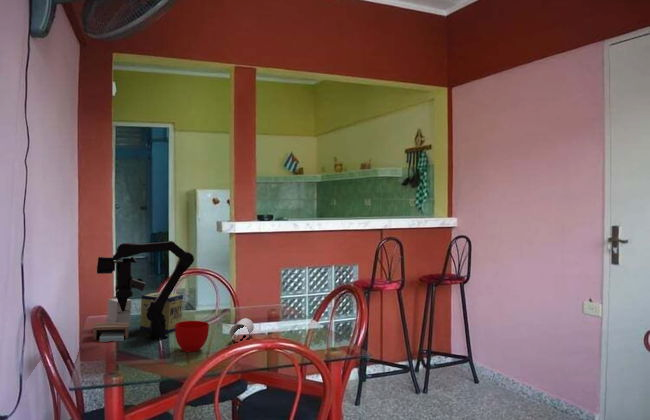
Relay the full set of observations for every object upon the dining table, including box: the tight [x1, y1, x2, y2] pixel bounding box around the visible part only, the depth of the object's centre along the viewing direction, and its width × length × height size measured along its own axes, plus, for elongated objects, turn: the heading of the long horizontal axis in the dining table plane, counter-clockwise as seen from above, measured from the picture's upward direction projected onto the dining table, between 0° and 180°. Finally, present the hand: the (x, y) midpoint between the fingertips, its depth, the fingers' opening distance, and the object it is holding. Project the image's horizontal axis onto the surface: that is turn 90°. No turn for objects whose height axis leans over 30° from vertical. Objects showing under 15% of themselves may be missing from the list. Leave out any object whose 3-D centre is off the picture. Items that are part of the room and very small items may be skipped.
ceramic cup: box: [174, 320, 210, 353], centre depth 206 cm, size 13×17×10 cm
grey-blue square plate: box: [99, 331, 125, 343], centre depth 217 cm, size 10×9×2 cm
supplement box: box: [106, 298, 132, 328], centre depth 236 cm, size 7×7×13 cm
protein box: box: [139, 291, 184, 334], centre depth 236 cm, size 10×16×16 cm
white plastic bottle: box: [228, 317, 255, 339], centre depth 227 cm, size 8×19×8 cm, turn 176°
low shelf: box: [92, 322, 130, 341], centre depth 219 cm, size 8×13×5 cm, turn 109°
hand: (123, 310), depth 216 cm, fingers closed
